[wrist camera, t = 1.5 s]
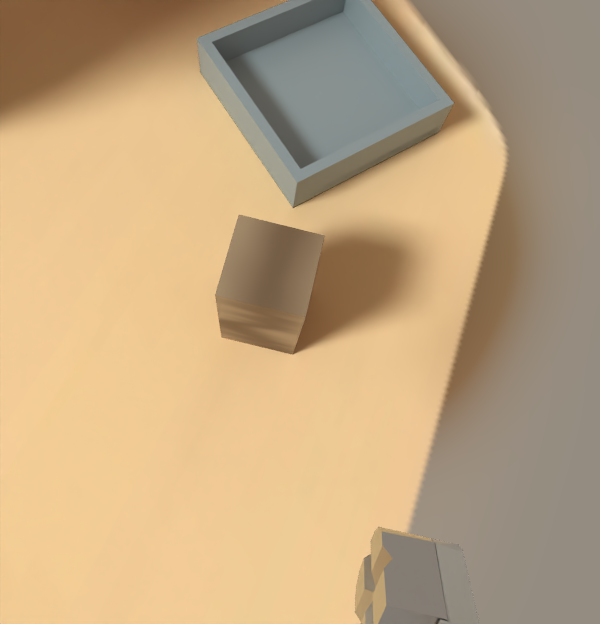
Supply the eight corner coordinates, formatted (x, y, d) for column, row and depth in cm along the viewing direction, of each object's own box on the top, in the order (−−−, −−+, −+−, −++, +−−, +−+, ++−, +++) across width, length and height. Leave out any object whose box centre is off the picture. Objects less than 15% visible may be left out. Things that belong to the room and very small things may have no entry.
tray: (200, 72, 44) (196, 38, 41) (343, 11, 47) (350, -25, 44) (292, 207, 41) (297, 182, 38) (438, 132, 44) (454, 103, 41)
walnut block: (221, 337, 37) (215, 295, 29) (240, 271, 39) (238, 214, 31) (292, 354, 38) (305, 317, 29) (308, 288, 39) (324, 235, 31)
